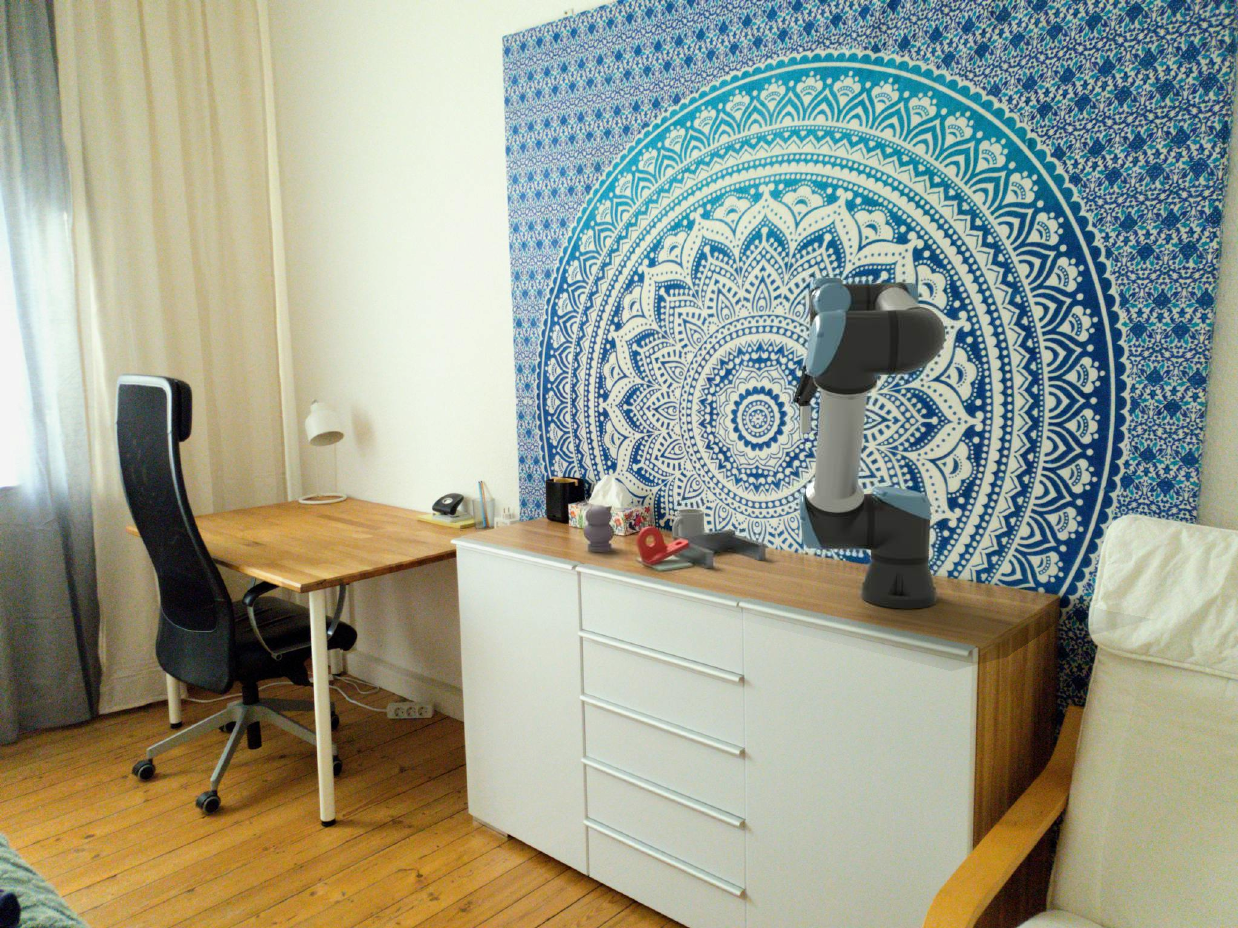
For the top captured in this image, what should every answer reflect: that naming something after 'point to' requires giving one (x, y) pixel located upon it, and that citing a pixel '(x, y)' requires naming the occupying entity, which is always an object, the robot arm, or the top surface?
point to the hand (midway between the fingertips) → (823, 435)
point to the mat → (668, 564)
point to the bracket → (657, 546)
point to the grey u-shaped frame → (718, 547)
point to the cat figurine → (599, 528)
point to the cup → (688, 522)
